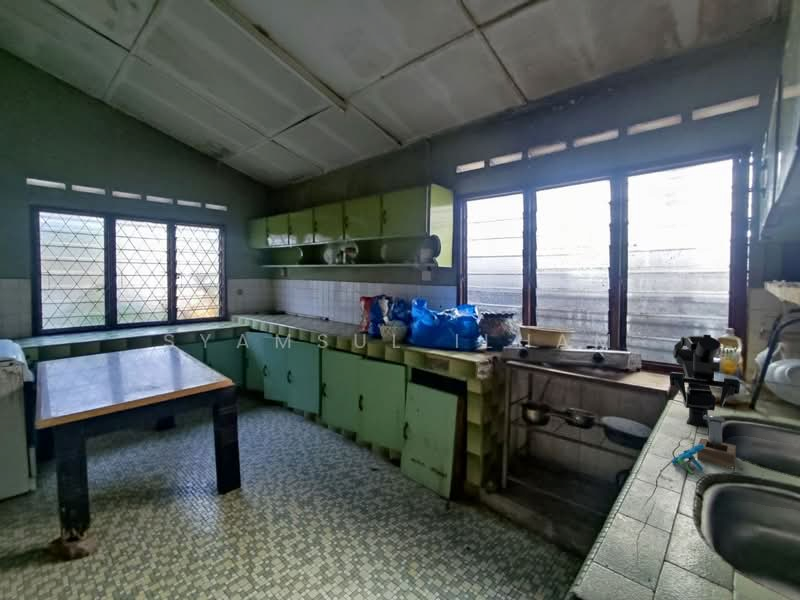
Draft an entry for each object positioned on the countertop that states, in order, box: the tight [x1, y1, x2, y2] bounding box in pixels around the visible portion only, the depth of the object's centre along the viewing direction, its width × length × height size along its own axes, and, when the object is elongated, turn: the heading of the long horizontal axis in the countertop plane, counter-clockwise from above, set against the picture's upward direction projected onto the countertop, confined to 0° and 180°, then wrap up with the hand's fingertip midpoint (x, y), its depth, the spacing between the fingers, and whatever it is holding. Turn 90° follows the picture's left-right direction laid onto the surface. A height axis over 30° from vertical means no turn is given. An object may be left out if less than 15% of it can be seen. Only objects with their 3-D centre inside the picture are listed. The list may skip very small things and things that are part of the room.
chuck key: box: [703, 414, 726, 450], centre depth 113 cm, size 3×5×13 cm, turn 50°
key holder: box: [696, 437, 737, 469], centre depth 113 cm, size 8×8×4 cm
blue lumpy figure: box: [671, 443, 705, 475], centre depth 108 cm, size 11×6×10 cm
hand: (702, 404), depth 122 cm, fingers open, 9 cm apart
